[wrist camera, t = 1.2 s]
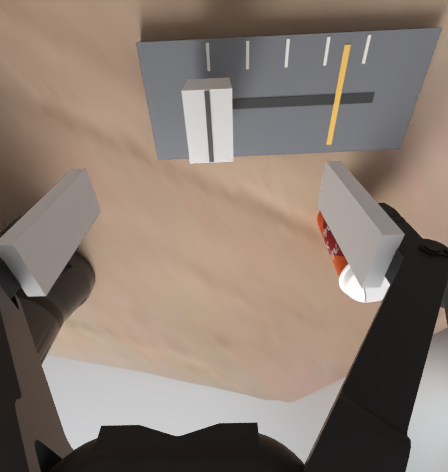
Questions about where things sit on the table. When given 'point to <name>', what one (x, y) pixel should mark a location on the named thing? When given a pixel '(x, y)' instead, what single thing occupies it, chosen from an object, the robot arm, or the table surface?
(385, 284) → the paper cup
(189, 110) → the fader
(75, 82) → the table surface
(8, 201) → the table surface
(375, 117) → the gray slider panel
